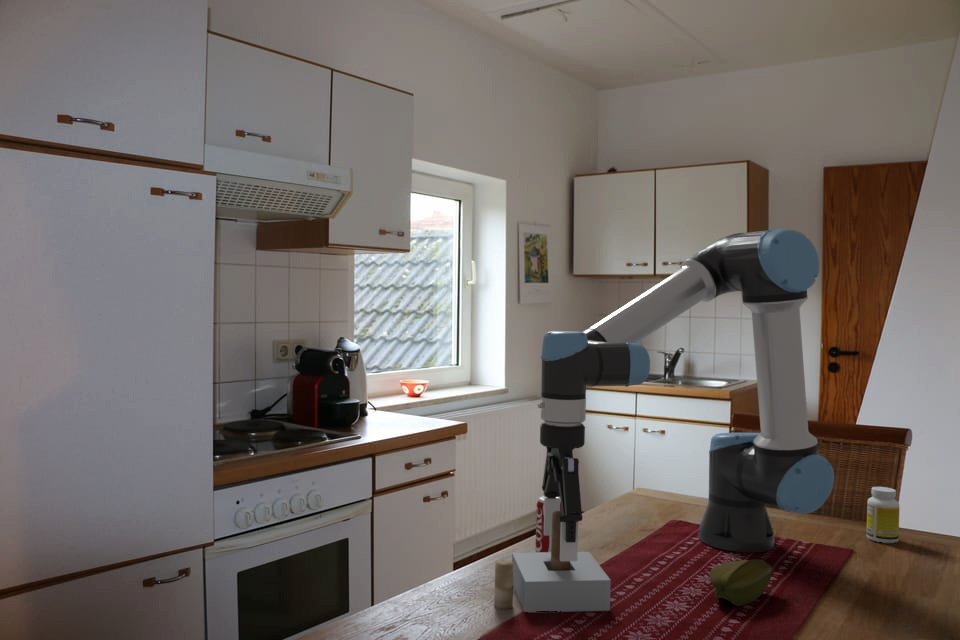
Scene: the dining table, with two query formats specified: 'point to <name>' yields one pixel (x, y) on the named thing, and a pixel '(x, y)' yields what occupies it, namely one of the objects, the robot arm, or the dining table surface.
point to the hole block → (560, 584)
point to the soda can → (542, 528)
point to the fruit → (741, 580)
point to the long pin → (557, 544)
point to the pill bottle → (883, 516)
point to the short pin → (503, 584)
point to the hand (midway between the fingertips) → (559, 547)
